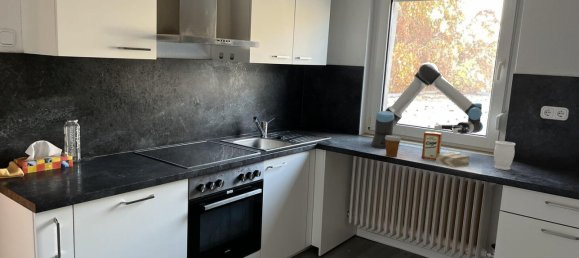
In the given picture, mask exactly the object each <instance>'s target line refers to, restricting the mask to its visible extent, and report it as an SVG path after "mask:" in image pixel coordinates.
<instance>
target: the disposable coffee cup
mask: <svg viewBox="0 0 579 258" xmlns="http://www.w3.org/2000/svg"><path fill="white" fill-rule="evenodd" d="M385 139H386V148H385V156H386V157H392V158H396V157H398V153H399V148H400V143H401V136H399V135H394V134H392V135H386V137H385Z"/></svg>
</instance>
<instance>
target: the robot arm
mask: <svg viewBox="0 0 579 258" xmlns="http://www.w3.org/2000/svg"><path fill="white" fill-rule="evenodd" d="M413 77H414V79H412V81H411V82H410V84H408V86H407V87H406V89H404V91H403V92H402V93H401V95H399V97H398V98H397V99H396V100H395V102H394V103H393V104H392V105H391V106H388V107H387V108H386V109H385V110H382V111H378V112H376V114H375V126H374V127H375V128H374V135H373V137H372V140H371V144H370V146H371V147H373V148H377V149H378V148H379V149H386V139H385V137H386V135H393V131H394V128H395V127H396V126H397V125H398V123H399V122H400V120H401V119H402V118H403V117H402V116H403V115H402V114H403V113H404V112H405V111H406V109H407V108H408V107H410V105H411V103H412V102H413V101H414V100H416V98H417V96H419V94H420V93H421V92H422V91H423V89H424V88H425V87H430V86H431V87H435V88H436V89H437V90H438V91H439V92H441V93H442V94H443V95H444V96H445V97H446V98H447V99H448V100H450V101H451V102H452V103H453V104H454V105H455V106H456V107H458V108H459V109H460V110H461V111H462V112H463V113H464V114H466V115H467V117H468V118H467V121H462V122H460V121H459V122H458V123H457V124H438V125H434V127H433V129H434V131H441V130H448V131H449V130H450V131H452V133H453V134H460V135H461V134H462V135H465V134H466V135H468V134H475V133H477V134H478V133H479V132H481V131H482V130H483V128H484V124H483V123H482V122H481V117H482V114H483V112H482V108H483V107H482V106H483V105H482V103H480V102H472V101H471V100H470V99H469V98H467V97H466V96H465V95H464V94H463V93H462V92H460V90H458V89H457V88H456V87H455V86H454V85H453V84H452V83H450V82H449V81H448V80H447V79H446V78H444V77H443V74H442V73H441V72H440V71H439V68H438V66H437V65H436V64H435V63H434V62H424V63H423V64H421V65H420V66H419V68H418V70H417V72H416V73H415V74H414V76H413Z"/></svg>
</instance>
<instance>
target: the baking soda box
mask: <svg viewBox="0 0 579 258" xmlns="http://www.w3.org/2000/svg"><path fill="white" fill-rule="evenodd" d="M442 136H443V132H436V131H434V132H433V131H424V132H423V139H422V140H423V142H422V151H421V152H422V153H421V159H426V160H431V161H432V160H433V161H436V157H437V154H441V146H442V139H443V138H442Z"/></svg>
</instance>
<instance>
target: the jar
mask: <svg viewBox="0 0 579 258" xmlns="http://www.w3.org/2000/svg"><path fill="white" fill-rule="evenodd" d="M494 143H495V146H494V150H493V160H494V166H493V168H494V169H497V170H502V171H508V170H511V165H512V164H513V160H514V157H515V152H516V151H515V146H516V143H515V142H512V141H505V140H496V141H495V142H494Z"/></svg>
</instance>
